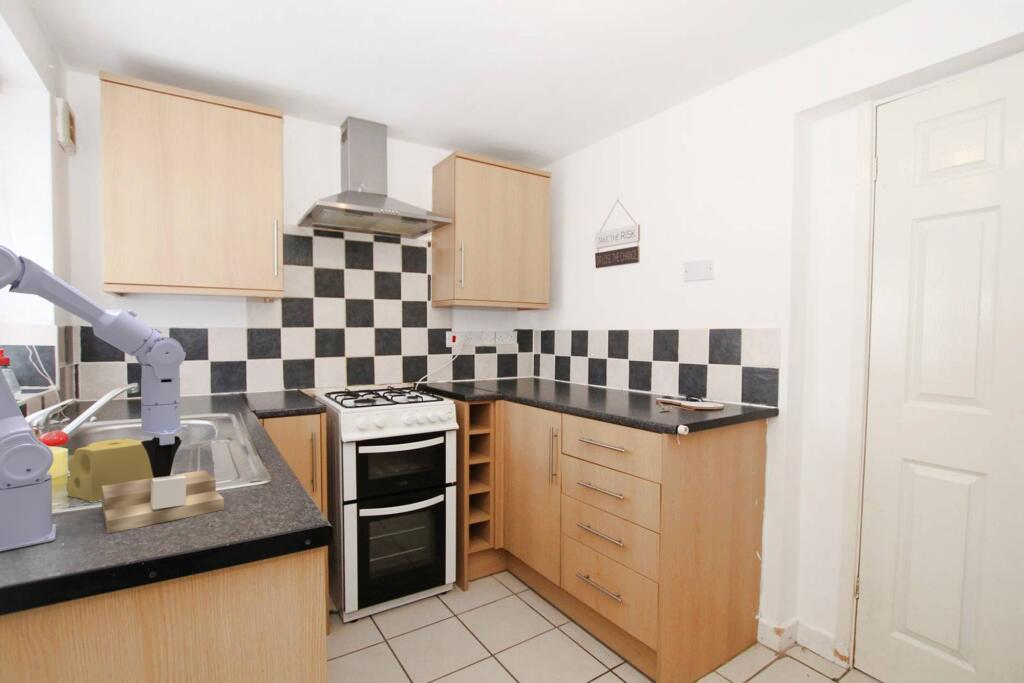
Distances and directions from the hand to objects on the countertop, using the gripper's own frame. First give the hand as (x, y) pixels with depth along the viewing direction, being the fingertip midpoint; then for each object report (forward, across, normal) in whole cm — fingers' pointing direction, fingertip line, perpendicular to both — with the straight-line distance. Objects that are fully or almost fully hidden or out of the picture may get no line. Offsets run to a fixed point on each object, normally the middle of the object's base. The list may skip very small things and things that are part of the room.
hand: (161, 479), depth 89 cm
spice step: (+5, 0, 0) cm, 5 cm away
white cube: (+1, -5, 0) cm, 5 cm away
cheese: (+6, +19, +6) cm, 20 cm away
